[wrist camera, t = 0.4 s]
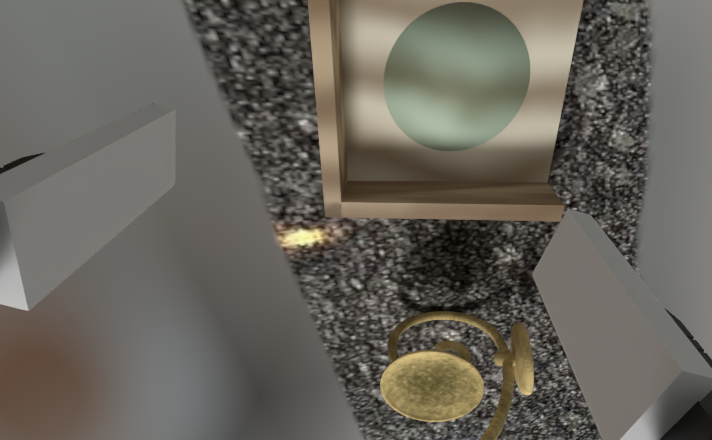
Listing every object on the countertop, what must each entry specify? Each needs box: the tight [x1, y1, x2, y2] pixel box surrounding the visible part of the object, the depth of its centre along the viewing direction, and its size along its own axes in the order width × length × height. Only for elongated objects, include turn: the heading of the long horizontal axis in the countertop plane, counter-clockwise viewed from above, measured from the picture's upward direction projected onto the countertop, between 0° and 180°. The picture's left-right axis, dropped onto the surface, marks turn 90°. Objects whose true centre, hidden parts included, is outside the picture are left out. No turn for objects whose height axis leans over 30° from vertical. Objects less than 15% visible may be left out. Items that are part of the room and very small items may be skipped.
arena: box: [308, 0, 583, 221], centre depth 34 cm, size 20×20×6 cm
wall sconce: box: [380, 311, 534, 440], centre depth 37 cm, size 14×10×25 cm
